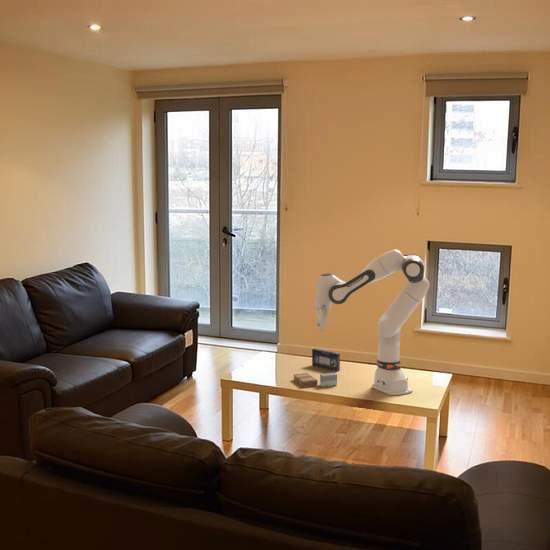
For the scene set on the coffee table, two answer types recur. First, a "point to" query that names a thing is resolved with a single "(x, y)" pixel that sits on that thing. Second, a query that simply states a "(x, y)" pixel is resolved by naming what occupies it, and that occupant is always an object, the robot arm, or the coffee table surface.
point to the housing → (328, 379)
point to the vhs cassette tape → (326, 359)
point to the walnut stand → (305, 380)
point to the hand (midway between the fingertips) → (319, 328)
